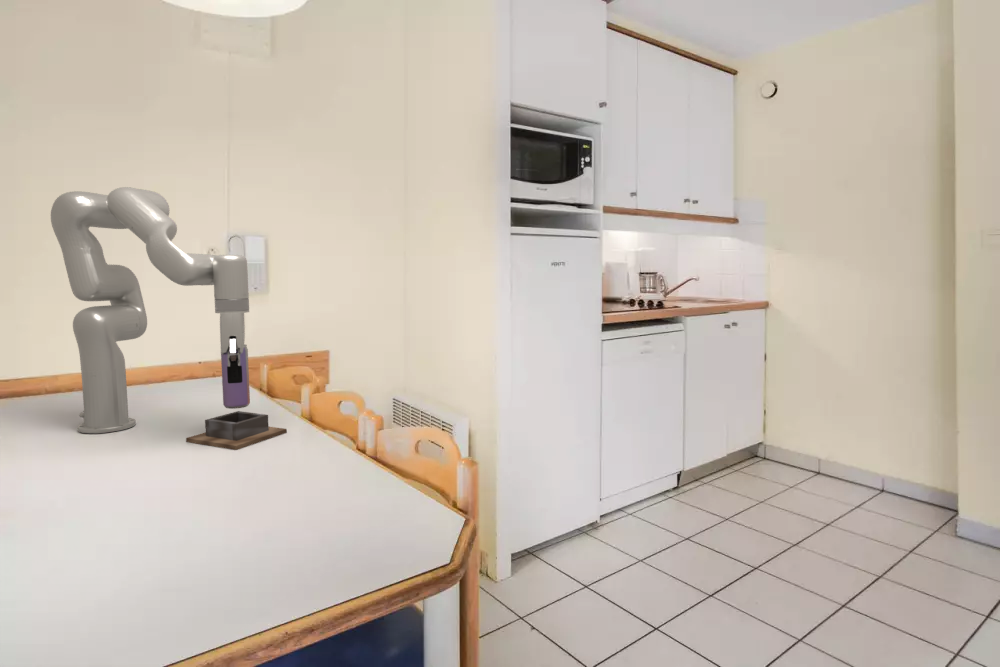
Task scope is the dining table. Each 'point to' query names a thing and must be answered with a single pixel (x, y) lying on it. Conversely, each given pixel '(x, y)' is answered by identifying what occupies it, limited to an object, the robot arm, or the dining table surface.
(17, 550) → the dining table surface
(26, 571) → the dining table surface
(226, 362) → the beverage can
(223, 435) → the can holder
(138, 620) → the dining table surface
